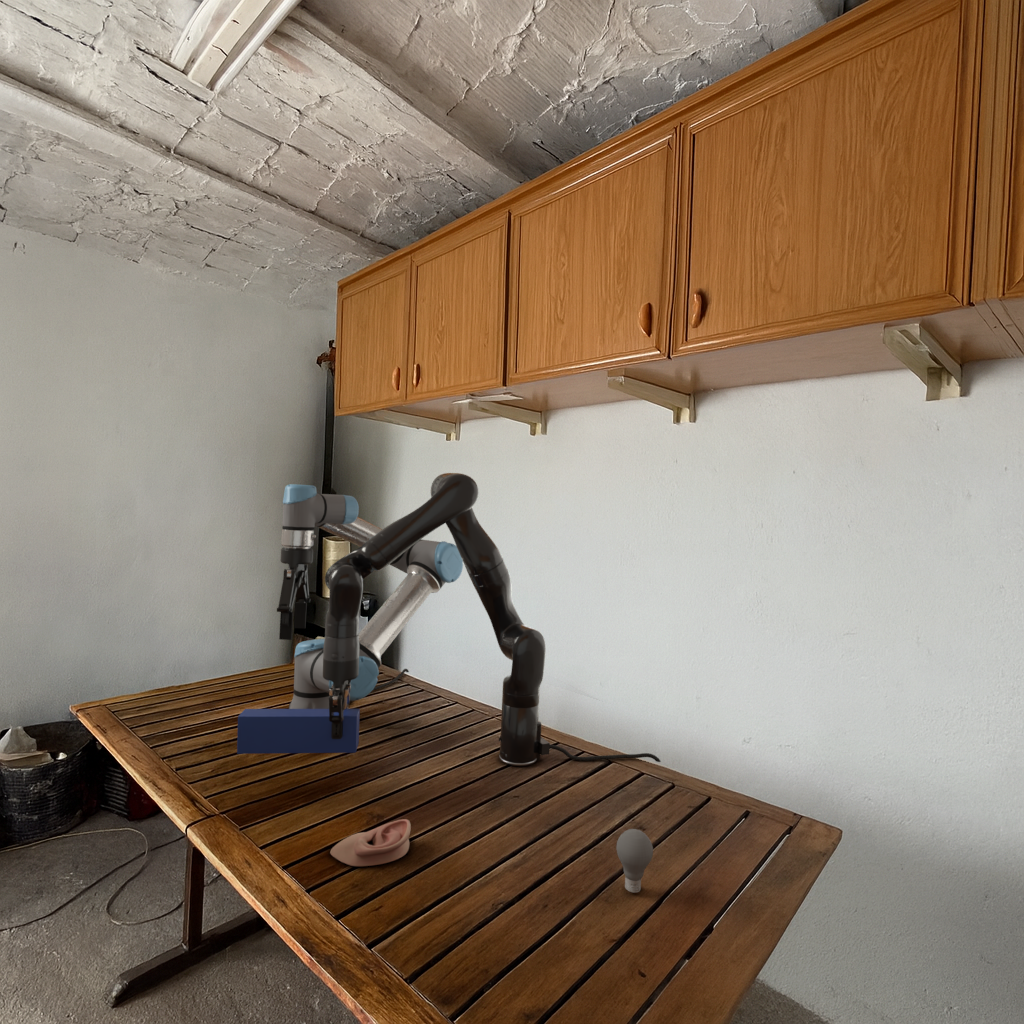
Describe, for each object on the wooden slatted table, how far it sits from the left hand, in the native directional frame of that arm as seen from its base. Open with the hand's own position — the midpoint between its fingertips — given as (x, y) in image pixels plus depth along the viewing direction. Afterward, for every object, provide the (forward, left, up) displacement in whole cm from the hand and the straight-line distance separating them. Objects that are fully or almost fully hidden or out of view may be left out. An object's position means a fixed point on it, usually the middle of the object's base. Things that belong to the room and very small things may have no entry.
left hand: (293, 633), depth 156 cm
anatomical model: (+14, +49, -29) cm, 59 cm away
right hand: (+4, +25, -17) cm, 31 cm away
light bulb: (-8, +90, -29) cm, 95 cm away
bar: (+10, +19, -20) cm, 30 cm away
